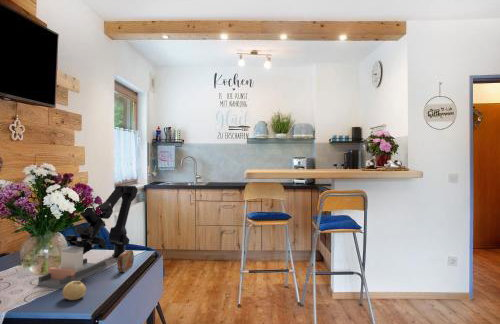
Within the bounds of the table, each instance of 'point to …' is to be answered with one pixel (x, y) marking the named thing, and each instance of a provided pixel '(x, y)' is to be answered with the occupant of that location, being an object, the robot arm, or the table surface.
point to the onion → (74, 290)
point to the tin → (125, 261)
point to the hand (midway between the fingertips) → (76, 257)
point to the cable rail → (57, 281)
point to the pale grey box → (72, 258)
